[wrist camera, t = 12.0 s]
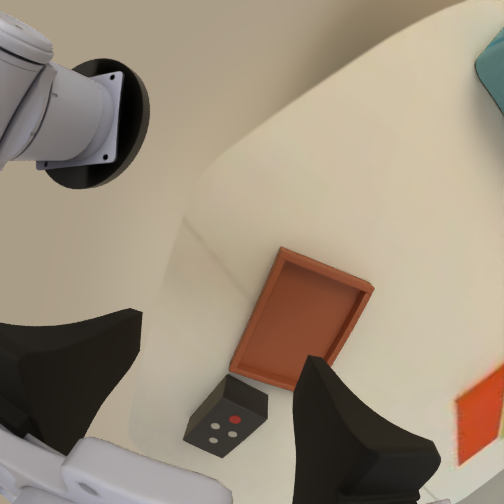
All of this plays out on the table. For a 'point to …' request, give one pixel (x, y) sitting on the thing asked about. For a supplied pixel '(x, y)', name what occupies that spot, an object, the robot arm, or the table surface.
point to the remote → (227, 417)
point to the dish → (298, 319)
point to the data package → (493, 69)
